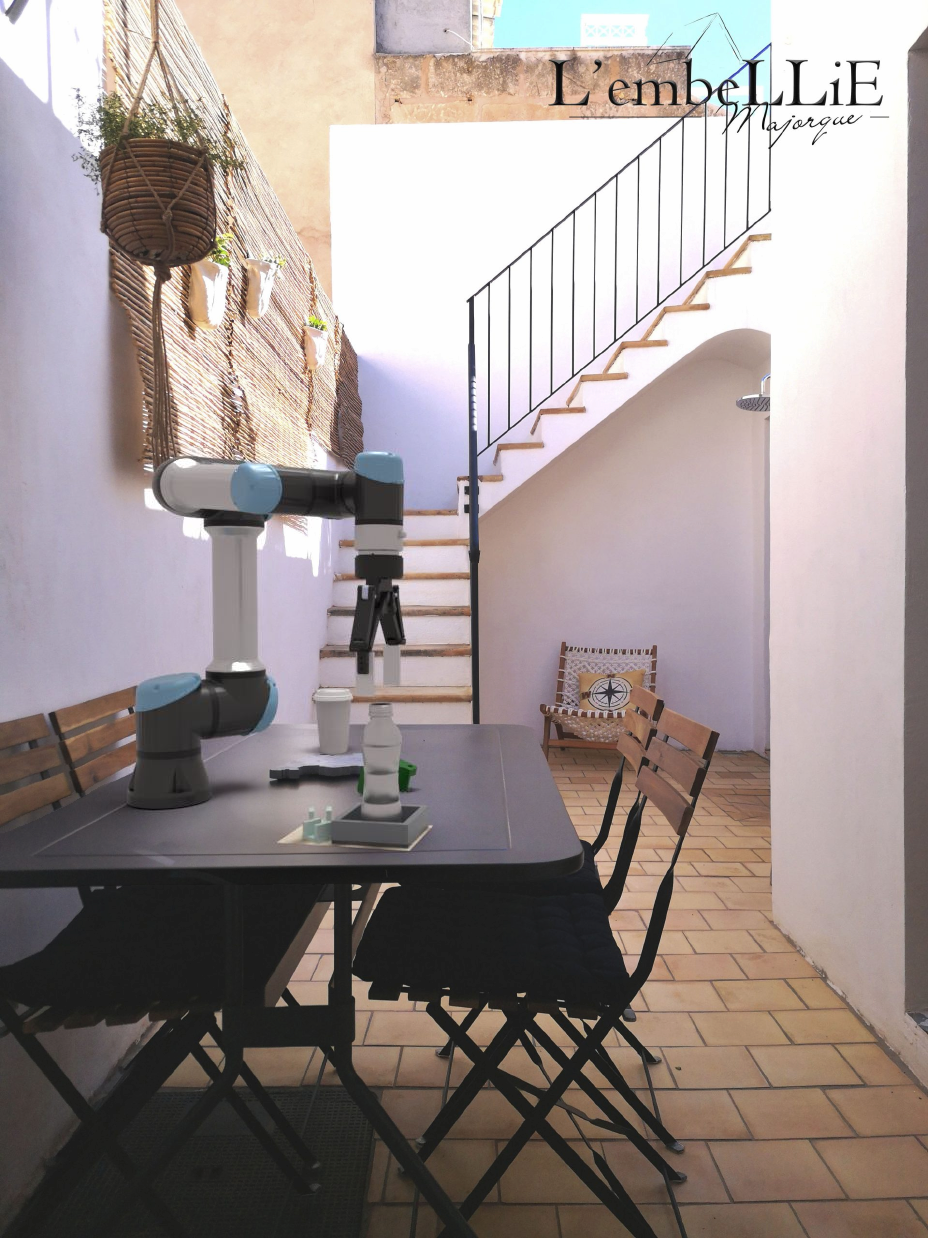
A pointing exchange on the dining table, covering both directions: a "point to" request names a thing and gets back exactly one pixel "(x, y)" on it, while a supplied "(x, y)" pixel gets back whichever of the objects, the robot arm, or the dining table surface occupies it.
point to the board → (297, 834)
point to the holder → (379, 828)
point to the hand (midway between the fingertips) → (379, 690)
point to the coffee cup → (333, 719)
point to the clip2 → (316, 830)
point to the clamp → (403, 776)
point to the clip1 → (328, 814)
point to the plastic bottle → (381, 766)
